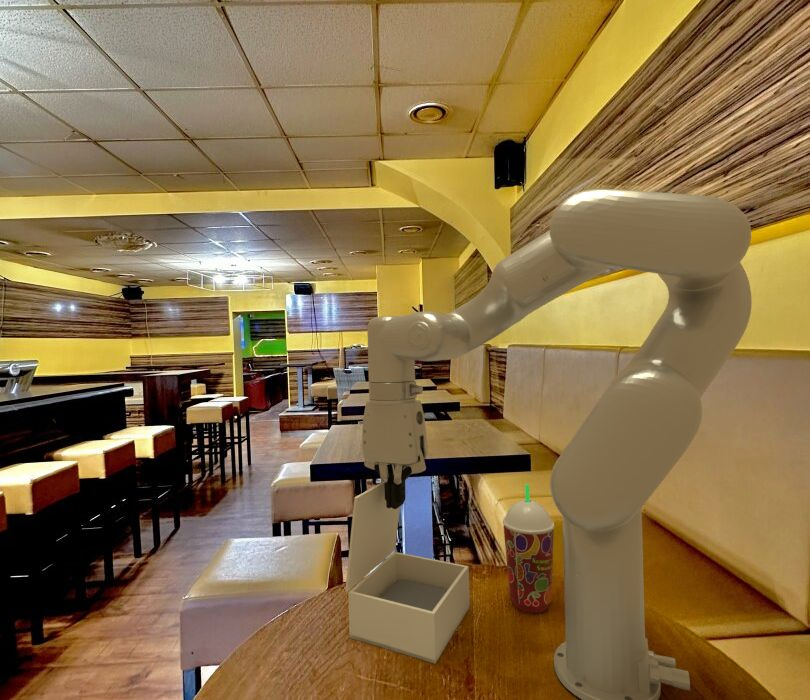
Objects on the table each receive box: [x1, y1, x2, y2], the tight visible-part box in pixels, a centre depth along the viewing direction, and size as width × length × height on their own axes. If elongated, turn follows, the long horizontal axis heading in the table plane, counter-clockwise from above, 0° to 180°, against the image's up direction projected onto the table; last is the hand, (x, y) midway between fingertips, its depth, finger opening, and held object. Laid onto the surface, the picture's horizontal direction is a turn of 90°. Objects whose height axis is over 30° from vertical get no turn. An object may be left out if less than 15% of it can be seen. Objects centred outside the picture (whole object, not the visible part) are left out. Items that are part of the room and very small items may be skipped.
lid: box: [344, 481, 401, 593], centre depth 74 cm, size 14×16×1 cm
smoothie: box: [502, 483, 555, 614], centre depth 75 cm, size 8×8×20 cm
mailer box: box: [347, 551, 471, 664], centre depth 71 cm, size 14×15×7 cm
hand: (395, 505), depth 73 cm, fingers closed
